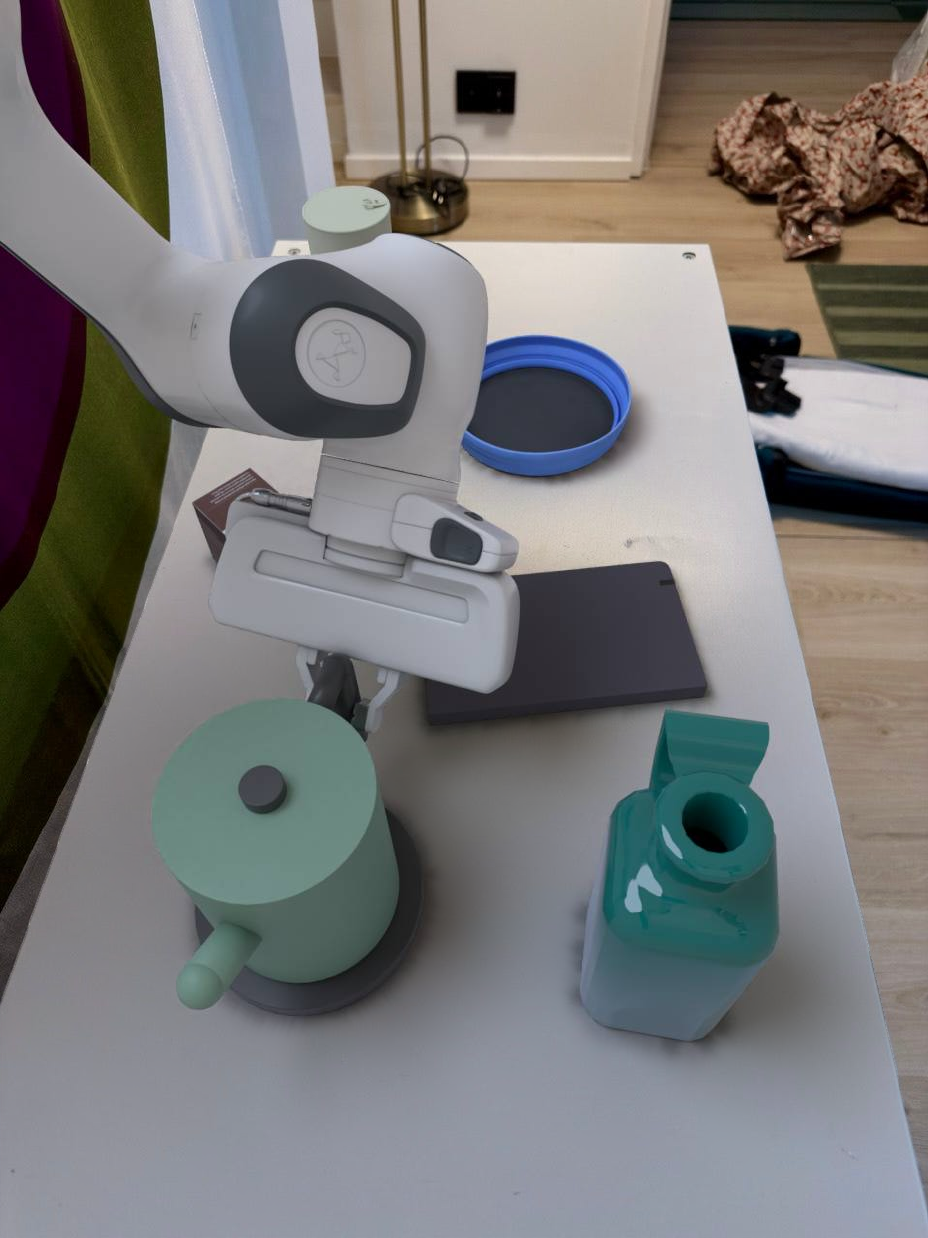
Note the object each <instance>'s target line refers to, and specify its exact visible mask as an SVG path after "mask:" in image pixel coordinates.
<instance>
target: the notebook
mask: <svg viewBox="0 0 928 1238" xmlns="http://www.w3.org/2000/svg"><path fill="white" fill-rule="evenodd" d="M509 575H510V574H509ZM673 575H674V574H673V572H672V569H671V567H670V565H669V564H668V563H667V562H665V561H662V560H652V561H644V562H634V563H623V564H612V565H602V566H601V565H600V566H593V567H583V568H582V567H581V568H573V569H563V570H553V571H542V572H534V573H533V572H531V573H521V574H511V575H510V576H511V577H512V578H513V580H514V581H515V583H516V585H517V588H518V591H519V597H520V617H519V630H518V639H517V647H516V653H515V659H514V664H513V669H512V672H511V675H510V677H509V679H508V680H507V681H506V683H504V684H503V685H502V686H501V687H499V688H497V689H496V690H494V691H493V692H491V693H487V694H486V693H480V692H477V691H473V690H469V689H465V688H462V687H458V686H454V685H450V684H446V683H443V682H439V681H435V680H431V679H427V678H424V683H425V694H426V704H427V716H428V723H429V726H434V725H435V726H436V725H443V724H453V723H464V722H472V721H482V720H491V719H499V718H500V719H501V718H502V719H503V718H510V717H521V716H529V715H539V714H548V713H558V712H559V713H560V712H568V711H578V710H588V709H597V708H598V709H599V708H605V707H616V706H617V707H618V706H625V705H636V704H644V703H653V702H665V701H673V700H683V699H692V698H693V699H694V698H701V697H702V698H703V697H705V695H706V692H707V689H708V682H707V679H706V676H705V673H704V670H703V667H702V663H701V661H700V657H699V654H698V651H697V648H696V645H695V642H694V638H693V635H692V631H691V629H690V626H689V622H688V619H687V616H686V613H685V610H684V608H683V604H682V600H681V597H680V595H679V591H678V588H677V584H676V581H675V579H674V576H673Z"/></svg>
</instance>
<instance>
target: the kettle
mask: <svg viewBox="0 0 928 1238" xmlns="http://www.w3.org/2000/svg"><path fill="white" fill-rule="evenodd" d="M321 663H322V664H321V671H320V673H319V676H318V678H317V680H316V682H315V684H314V687H313V689H312V691H311V693H310V695H309V698H308V700H307V701H305V700H302V699H301V700H300V699H296V698H265V699H260V700H254V701H249V702H246V703H243V704H238V705H237V706H234V707H232V708H229V709H227V710H225V711H222V712H221V713H218V714H217V715H214V716H213V717H211V718H210V719H209V720H207V721H206V722H204V723H203V724H201V725H200V726H199V727H197V728H196V729H195V730H193V732H191V733H190V734H189V735H188V736H187V737H186V738H185V739H184V740H183V741H182V742H181V743H180V744H179V746H178V747H177V748H176V750H174V752H173V753H172V755H171V756H170V757H169V759H168V760H167V762H166V763H165V766H164V767H163V770H162V772H161V774H160V776H159V778H158V781H157V784H156V787H155V790H154V793H153V798H152V804H151V820H150V821H151V829H152V835H153V840H154V842H155V843H154V844H155V846H156V849H157V851H158V853H159V855H160V856H159V857H160V858H161V860H162V862H163V863H164V864H165V866H166V868H167V869H168V870H169V871H170V873H171V874H172V875H173V876H174V878H175V879H176V881H177V882H178V883H179V885H180V886H181V887H182V889H183V890H184V891H185V893H186V894H187V895H188V896H189V898H190V899H191V900H192V902H193V903H194V905H195V904H196V905H197V907H198V908H199V909H200V910H201V912H202V913H203V914H204V916H205V917H206V918H207V920H208V921H209V922H210V923H211V925H212V926H213V927H214V929H215V930H214V931H213V932H212V933H211V935H210V936H209V937H208V938H207V940H206V941H205V942H204V943H203V944H202V946H201V945H200V947H199V948H198V949H197V950H196V951H195V953H194V954H193V955H192V957H191V958H190V959H189V960H188V961H187V962H186V964H185V965H184V966H183V967H182V969H181V970H180V972H179V973H178V976H177V979H176V981H175V982H176V983H175V985H176V986H175V991H176V995H177V998H178V1000H179V1001H180V1002H181V1003H182V1005H184V1006H185V1007H186V1008H188V1009H190V1010H194V1011H202V1010H206V1009H209V1008H211V1007H213V1006H214V1005H215V1004H217V1003H218V1002H219V1001H220V1000H221V998H223V996H224V995H225V992H227V990H228V989H229V986H230V984H231V983H232V982H233V980H234V979H235V977H236V976H237V975H238V973H239V972H240V971H241V969H242V968H243V966H244V965H246V966H247V967H248V968H250V969H251V970H253V971H255V972H256V973H258V974H260V975H262V976H265V977H267V978H270V979H272V980H277V981H281V982H288V983H308V982H314V981H319V980H323V979H326V978H329V977H332V976H335V975H337V974H339V973H341V972H343V971H345V970H347V969H349V968H350V967H352V966H353V965H355V964H357V963H358V962H359V961H360V960H362V959H363V958H364V957H365V956H366V955H368V953H369V952H370V951H371V950H372V949H373V948H374V947H375V946H376V945H377V944H378V942H379V941H380V939H381V938H382V937H383V935H384V934H385V932H386V930H387V928H388V927H389V925H390V923H391V920H392V918H393V915H394V913H395V909H396V906H397V902H398V895H399V872H398V865H397V861H396V856H395V852H394V848H393V843H392V839H391V835H390V830H389V826H388V822H387V817H386V813H385V809H384V807H385V805H384V799H383V796H382V791H381V787H380V783H379V779H378V775H377V770H376V766H375V763H374V760H373V755H372V754H371V751H370V750H369V746H368V745H367V741H368V738H369V732H365V731H362V730H358V729H355V728H353V726H352V725H351V722H352V719H353V718H354V717H355V715H354V713H353V712H354V707H355V703H356V702H358V701H361V700H362V696H361V692H360V688H359V684H358V680H357V675H356V671H355V670H356V669H355V665H354V663H353V660H352V659H351V658H349V657H348V656H346V655H344V654H342V653H334V654H332V653H330V654H328V657H326V659H325V660H324V661H323V662H321Z"/></svg>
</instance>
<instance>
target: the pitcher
mask: <svg viewBox="0 0 928 1238" xmlns="http://www.w3.org/2000/svg"><path fill="white" fill-rule="evenodd" d="M769 743H770V725H769V722H767V721H760V720H751V719H745V718H738V717H737V718H736V717H730V716H723V715H716V714H714V715H713V714H707V713H700V712H692V711H684V710H677V709H671V708H670V709H669V708H665V710H664V713H663V717H662V720H661V725H660V729H659V733H658V737H657V741H656V745H655V750H654V754H653V760H652V765H651V772H650V777H649V784H648V787H646V788H641V789H637V790H634V791H632V792H630V793H628V794H627V795H626V796H624V797H623V798H622V799H620V800H618V802H617V803H616V805H615V806H614V808H613V809H612V811H611V814H610V815H609V817H608V821H607V825H606V830H605V834H604V839H603V842H602V847H601V851H600V855H599V859H598V863H597V868H596V872H595V877H594V881H593V884H592V890H591V894H590V897H589V902H588V906H587V910H586V911H587V912H586V920H585V928H584V929H585V930H584V940H583V949H582V950H583V951H582V962H581V972H580V984H579V994H580V999H581V1002H582V1006H583V1007H584V1009H585V1010H586V1012H587V1013H588V1014H589V1015H590V1017H591V1018H592V1019H593V1020H594V1021H596V1022H597V1023H599V1024H601V1025H602V1026H604V1027H607V1028H612V1029H617V1030H623V1031H629V1032H634V1033H639V1034H646V1035H651V1036H656V1037H663V1038H667V1039H674V1040H679V1041H685V1042H693V1041H696V1040H700V1039H703V1038H705V1037H706V1036H707V1034H709V1033H710V1032H712V1030H714V1029H715V1027H716V1026H717V1025H718V1023H719V1022H720V1021H721V1019H722V1018H723V1017H724V1016H725V1015H726V1013H727V1012H728V1011H729V1010H730V1008H731V1007H732V1006H733V1005H734V1004H735V1003H736V1001H737V1000H738V998H739V997H740V996H741V995H742V994H743V993H744V991H745V990H746V989H747V987H749V985H750V984H751V982H752V981H753V980H754V979H755V977H756V976H757V975H758V974H759V973H760V971H761V970H762V969H763V967H765V966H766V964H767V962H769V960H770V959H771V958H772V956H773V955H774V952H775V950H776V948H777V945H778V943H779V940H780V938H781V933H780V932H781V929H780V899H779V896H780V895H779V870H778V842H777V841H778V839H777V835H776V832H775V821H774V820H773V817H772V815H771V813H770V811H769V809H768V807H767V805H766V803H765V800H764V799H763V798H762V797H761V796H759V795H758V794H757V793H756V791H755V790H754V789H753V788H752V787H751V786H750V785H751V783H752V782H753V779H754V776H755V774H756V772H757V771H758V769H759V767H760V766H761V764H762V762H763V760H764V758H765V756H766V752H767V750H768V746H769Z"/></svg>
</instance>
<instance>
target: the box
mask: <svg viewBox="0 0 928 1238" xmlns="http://www.w3.org/2000/svg"><path fill="white" fill-rule="evenodd" d="M254 488H265V489H269V490H273V491H274V492H276V493H280V492H279V491H278V490H276V488H274V487H273V486H271V484H270V483H269V482H267V481H266V479H264V478H263V477H261V476H260V475H259V474H258V473H257V472H256V471H255V470H253V468H251V467H248V468H247V469H245V470H244V471H242V472H241V473H239V474H237V475H235V476H234V477H232V478H231V479H229V480H227V481H225V482H224V483H222V484H221V485H219V486H217V487H216V488H214V489H212V490H211V491H209V492H207V493H206V494H204V495H202V496H201V497H199V498H197V499H196V500H193V501H192V502H191V505H192V507H193V510H194V512H195V515H196V517H197V520H198V523H199V525H200V528H201V530H202V533H203V536H204V538H205V541H206V543H207V546H208V549H209V551H210V554H211V557H212V559H213V560H214V561H215V562H216V564H218V562H219V559H220V556H221V553H222V550H223V547H224V544H225V542H226V536H225V528H226V522H227V516H228V510H229V507H230V505H231V503H232V502H233V501H234V500H235V499H236V498H237V497H238V496H240V495H241V494H244V493H246V492H252V490H253V489H254ZM243 501H245V502H250V503H254V502H252V501H251V498H248V499H245V500H243ZM254 504H256V503H254ZM271 508H276V507H271ZM276 509H280V510H283V509H281V508H276ZM284 511H286V510H284Z"/></svg>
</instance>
